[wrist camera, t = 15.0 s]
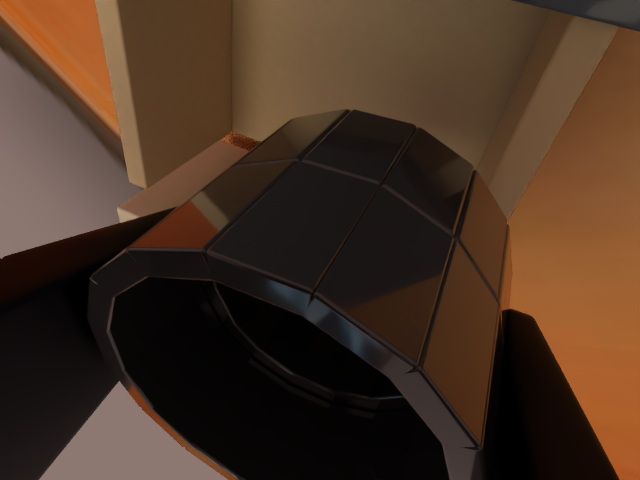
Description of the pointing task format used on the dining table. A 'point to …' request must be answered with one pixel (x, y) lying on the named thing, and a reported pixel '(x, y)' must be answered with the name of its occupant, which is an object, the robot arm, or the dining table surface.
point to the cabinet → (596, 10)
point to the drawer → (339, 80)
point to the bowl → (321, 309)
